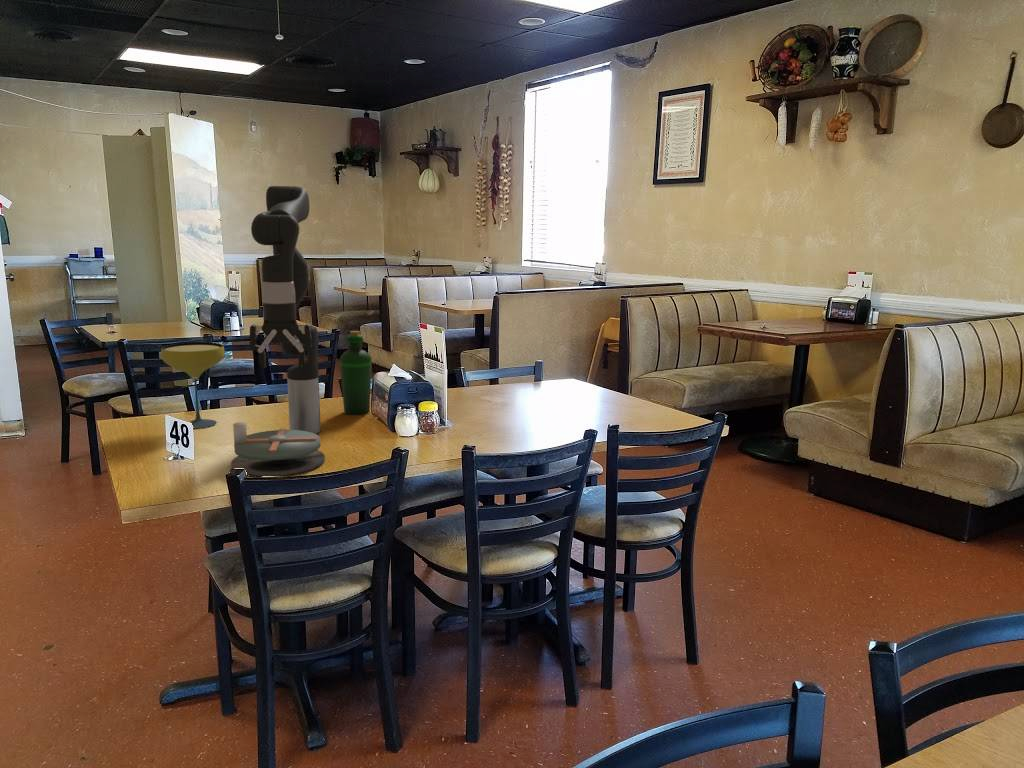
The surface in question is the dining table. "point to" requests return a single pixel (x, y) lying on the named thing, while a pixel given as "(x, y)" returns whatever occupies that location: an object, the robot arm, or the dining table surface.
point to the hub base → (280, 465)
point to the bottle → (356, 376)
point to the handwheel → (273, 443)
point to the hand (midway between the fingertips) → (282, 367)
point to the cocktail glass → (194, 366)
